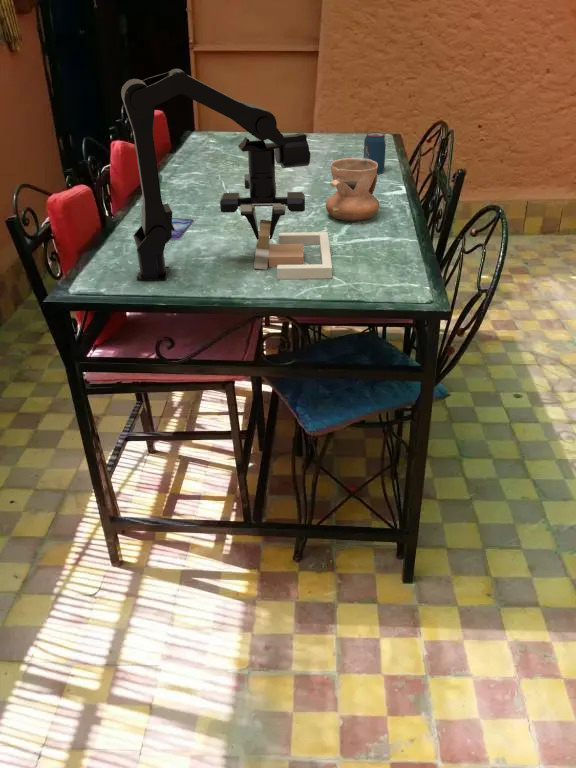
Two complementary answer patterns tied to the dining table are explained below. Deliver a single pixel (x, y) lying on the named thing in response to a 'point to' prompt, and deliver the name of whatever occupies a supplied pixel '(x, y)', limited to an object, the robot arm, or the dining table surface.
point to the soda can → (375, 149)
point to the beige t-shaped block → (263, 245)
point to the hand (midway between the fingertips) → (264, 238)
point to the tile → (285, 254)
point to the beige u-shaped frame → (307, 270)
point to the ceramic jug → (353, 189)
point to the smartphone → (180, 227)
